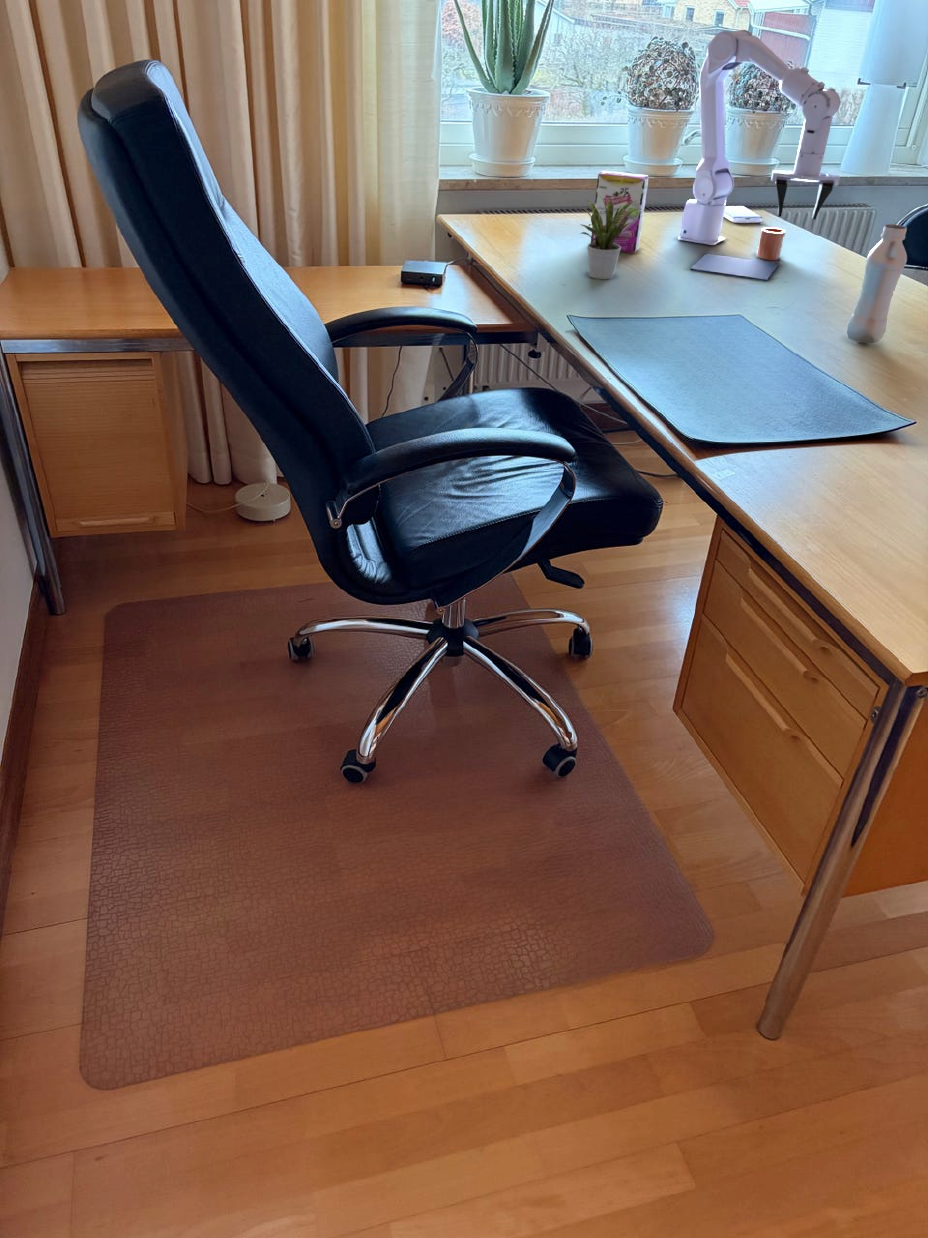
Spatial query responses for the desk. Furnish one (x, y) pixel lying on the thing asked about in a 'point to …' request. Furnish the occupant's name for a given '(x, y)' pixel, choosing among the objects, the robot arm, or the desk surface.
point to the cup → (770, 243)
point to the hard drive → (741, 215)
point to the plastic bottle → (878, 286)
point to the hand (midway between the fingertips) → (796, 217)
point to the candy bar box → (620, 193)
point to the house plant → (605, 240)
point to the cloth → (735, 267)
